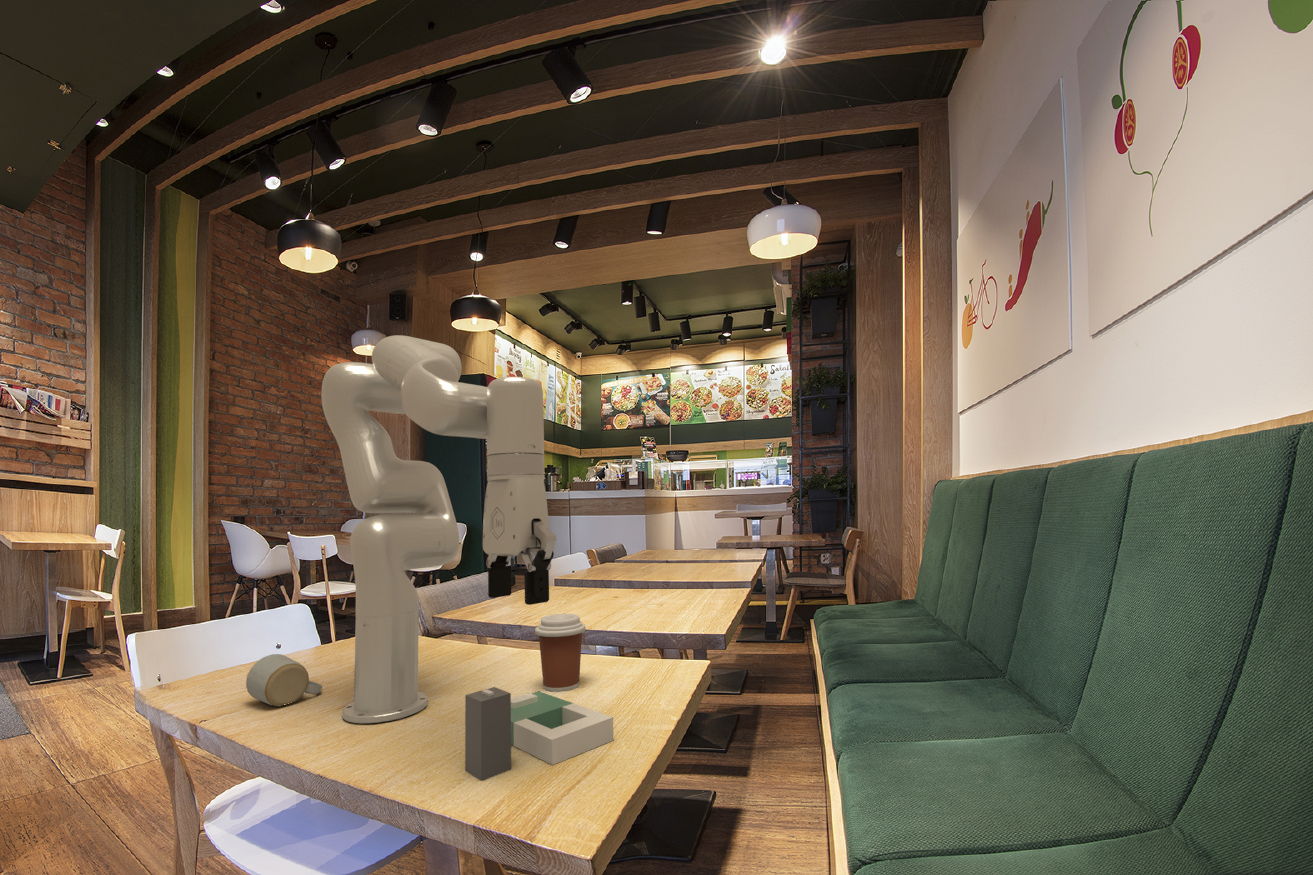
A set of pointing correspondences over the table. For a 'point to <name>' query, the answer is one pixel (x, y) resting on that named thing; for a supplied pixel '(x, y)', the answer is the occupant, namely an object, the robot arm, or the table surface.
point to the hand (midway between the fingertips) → (517, 599)
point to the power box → (556, 727)
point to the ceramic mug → (279, 680)
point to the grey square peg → (487, 733)
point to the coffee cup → (560, 651)
